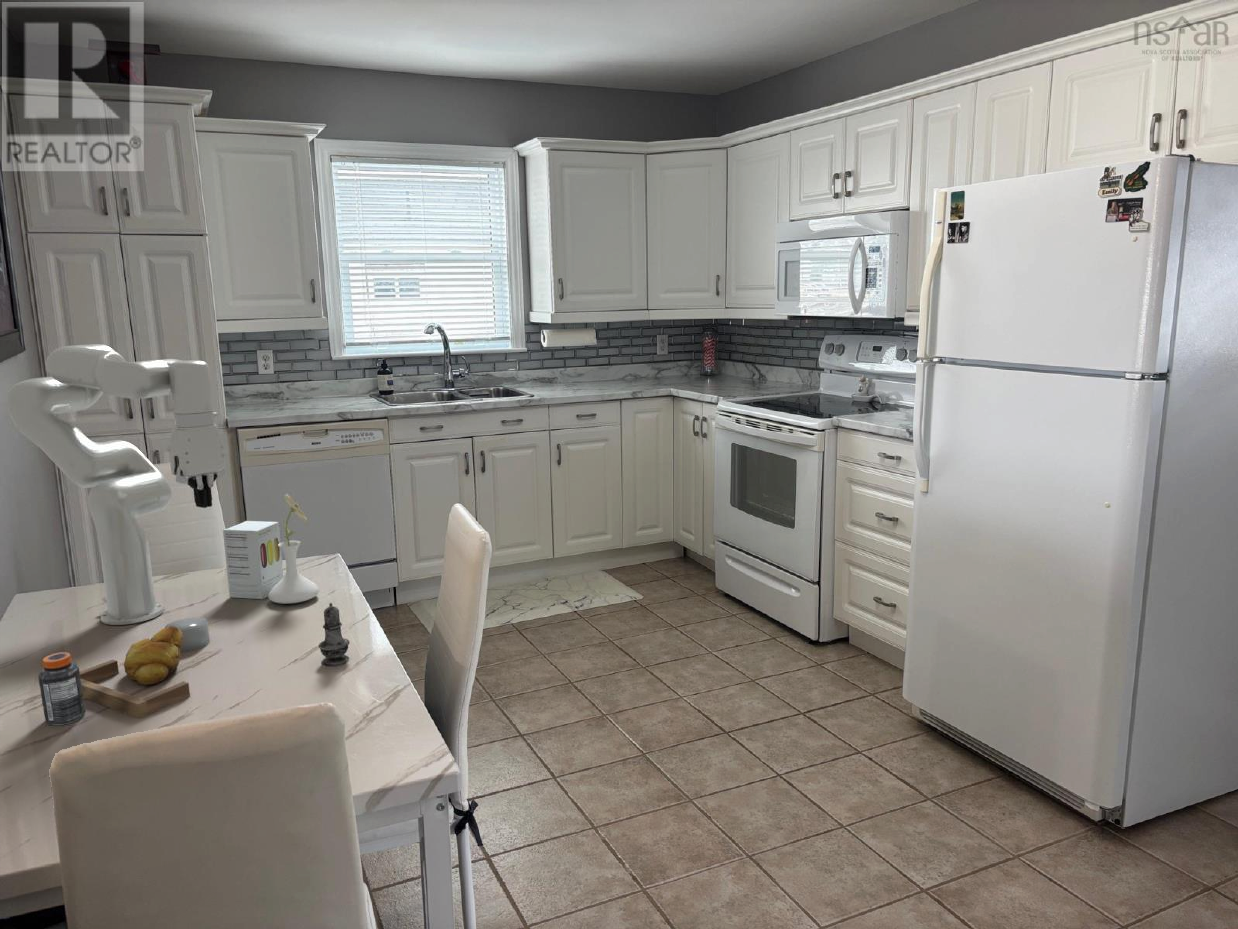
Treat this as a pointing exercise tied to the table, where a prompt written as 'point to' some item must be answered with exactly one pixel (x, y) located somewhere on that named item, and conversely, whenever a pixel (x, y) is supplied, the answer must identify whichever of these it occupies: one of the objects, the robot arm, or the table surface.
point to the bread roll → (154, 656)
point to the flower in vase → (292, 569)
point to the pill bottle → (61, 690)
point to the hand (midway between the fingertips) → (204, 506)
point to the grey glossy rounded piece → (192, 633)
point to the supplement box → (253, 558)
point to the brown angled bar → (124, 700)
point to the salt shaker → (333, 639)
